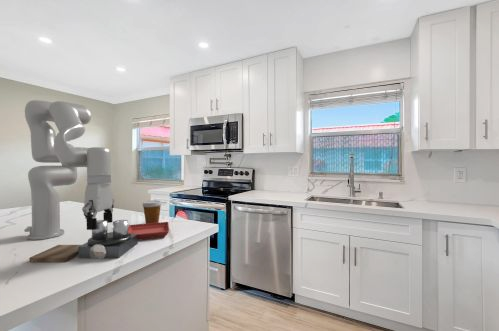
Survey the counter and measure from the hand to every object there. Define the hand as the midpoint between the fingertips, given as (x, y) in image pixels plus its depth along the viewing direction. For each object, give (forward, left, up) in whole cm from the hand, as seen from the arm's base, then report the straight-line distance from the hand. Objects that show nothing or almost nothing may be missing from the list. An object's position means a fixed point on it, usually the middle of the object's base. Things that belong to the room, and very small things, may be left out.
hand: (100, 225), depth 87 cm
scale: (+4, 0, -9) cm, 10 cm away
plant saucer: (+10, +20, -10) cm, 25 cm away
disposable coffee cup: (+5, +37, -10) cm, 39 cm away
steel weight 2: (+7, 0, -4) cm, 9 cm away
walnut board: (-11, -4, -9) cm, 15 cm away
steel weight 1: (0, 0, -4) cm, 4 cm away
